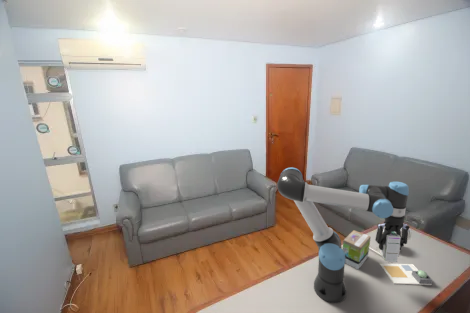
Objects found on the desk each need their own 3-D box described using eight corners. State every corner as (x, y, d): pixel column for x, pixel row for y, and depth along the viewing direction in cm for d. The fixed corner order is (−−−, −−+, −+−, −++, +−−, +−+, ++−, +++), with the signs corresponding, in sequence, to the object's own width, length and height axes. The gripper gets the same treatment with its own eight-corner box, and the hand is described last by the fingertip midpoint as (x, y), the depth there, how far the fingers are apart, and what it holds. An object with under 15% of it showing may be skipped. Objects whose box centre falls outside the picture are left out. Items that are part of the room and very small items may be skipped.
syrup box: (397, 262, 108) (401, 236, 105) (384, 261, 109) (388, 235, 106) (392, 254, 114) (395, 230, 110) (379, 253, 115) (382, 229, 111)
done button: (420, 280, 113) (421, 275, 113) (415, 274, 117) (416, 270, 116) (428, 280, 113) (428, 275, 112) (422, 274, 116) (423, 270, 116)
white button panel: (394, 284, 114) (395, 278, 113) (379, 264, 127) (380, 259, 126) (431, 285, 112) (432, 279, 111) (412, 265, 126) (413, 260, 125)
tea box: (358, 270, 124) (361, 247, 120) (340, 261, 131) (342, 239, 128) (368, 257, 133) (371, 235, 130) (351, 249, 141) (353, 229, 137)
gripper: (378, 217, 103) (372, 259, 108) (422, 217, 101) (414, 260, 106) (370, 209, 110) (365, 249, 116) (411, 209, 108) (404, 250, 114)
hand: (388, 254), depth 111 cm, fingers closed on syrup box, 6 cm apart
